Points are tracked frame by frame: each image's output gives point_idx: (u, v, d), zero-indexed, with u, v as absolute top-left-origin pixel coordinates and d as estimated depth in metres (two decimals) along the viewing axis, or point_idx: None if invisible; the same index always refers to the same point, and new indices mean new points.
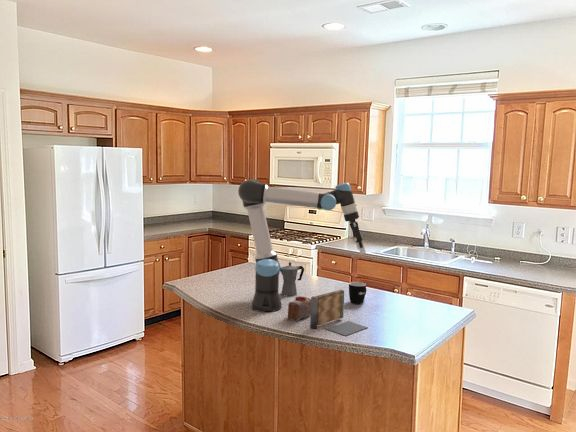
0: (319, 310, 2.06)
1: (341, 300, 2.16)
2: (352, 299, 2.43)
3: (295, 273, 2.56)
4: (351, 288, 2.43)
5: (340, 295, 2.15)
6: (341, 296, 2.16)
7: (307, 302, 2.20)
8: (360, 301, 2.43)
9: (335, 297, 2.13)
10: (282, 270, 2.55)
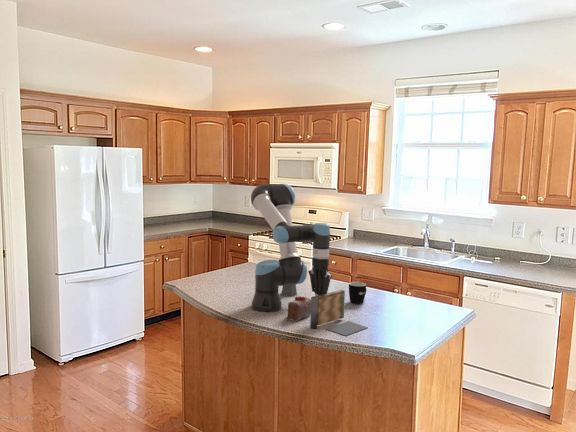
0: (319, 310, 2.06)
1: (341, 300, 2.16)
2: (352, 299, 2.43)
3: None
4: (351, 288, 2.43)
5: (340, 295, 2.15)
6: (341, 296, 2.16)
7: (307, 302, 2.20)
8: (360, 301, 2.43)
9: (335, 297, 2.13)
10: None
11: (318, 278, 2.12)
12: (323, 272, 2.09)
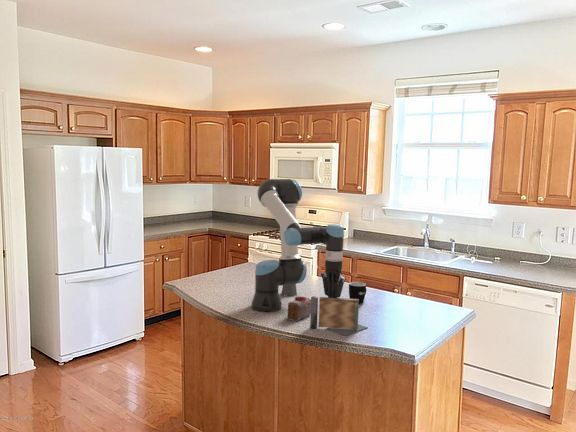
0: (320, 312, 2.04)
1: (354, 310, 2.02)
2: None
3: None
4: (351, 288, 2.43)
5: (353, 304, 2.02)
6: (354, 305, 2.02)
7: (307, 302, 2.20)
8: (360, 301, 2.43)
9: (344, 304, 2.02)
10: None
11: (331, 281, 2.06)
12: (336, 275, 2.03)
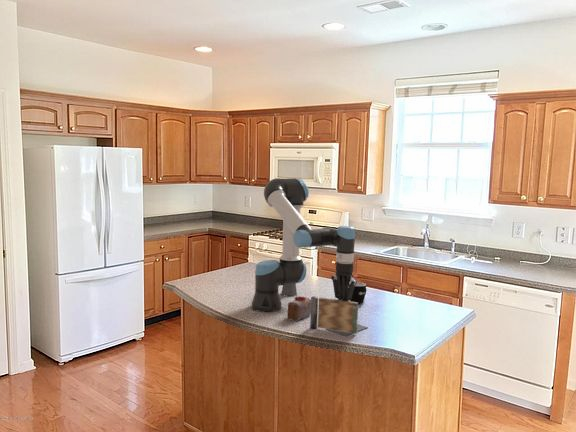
0: (319, 312, 2.03)
1: (352, 313, 1.97)
2: (352, 299, 2.43)
3: None
4: None
5: (351, 307, 1.97)
6: (353, 309, 1.97)
7: (307, 302, 2.20)
8: (360, 301, 2.43)
9: (342, 306, 1.99)
10: None
11: None
12: (347, 278, 1.99)
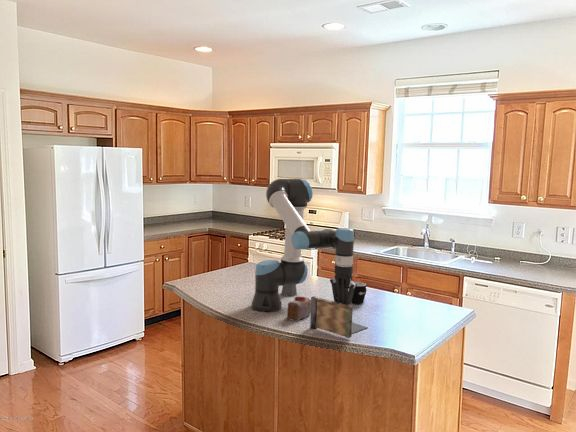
0: (318, 313, 2.02)
1: (346, 317, 1.92)
2: (352, 299, 2.43)
3: None
4: None
5: (345, 310, 1.93)
6: (346, 312, 1.92)
7: (306, 302, 2.20)
8: (360, 301, 2.43)
9: (337, 308, 1.95)
10: None
11: (341, 287, 1.97)
12: (347, 281, 1.93)
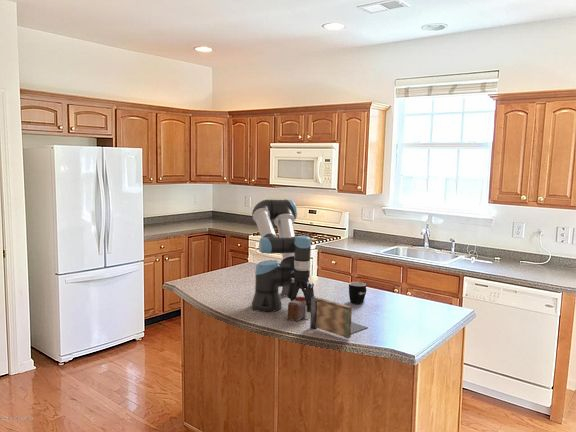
0: (317, 313, 2.02)
1: (345, 317, 1.92)
2: (352, 299, 2.43)
3: None
4: (351, 288, 2.43)
5: (344, 311, 1.92)
6: (345, 312, 1.92)
7: None
8: (360, 301, 2.43)
9: (337, 309, 1.95)
10: None
11: (297, 288, 2.21)
12: (304, 283, 2.16)
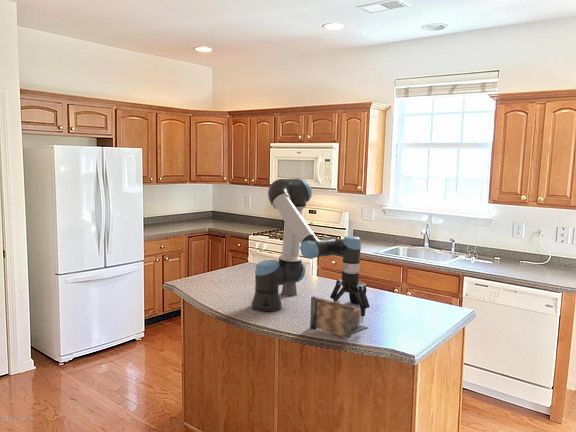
0: (317, 313, 2.02)
1: (345, 317, 1.92)
2: (352, 299, 2.43)
3: None
4: None
5: (344, 311, 1.92)
6: (345, 312, 1.92)
7: (355, 312, 2.05)
8: None
9: (337, 309, 1.95)
10: None
11: (343, 291, 2.07)
12: (354, 287, 2.02)
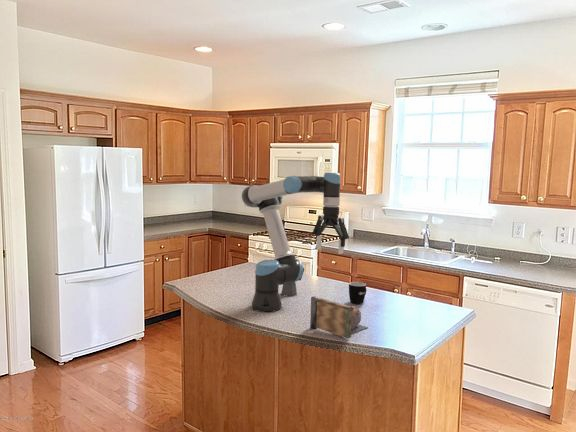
0: (317, 313, 2.02)
1: (345, 317, 1.92)
2: (352, 299, 2.43)
3: None
4: (351, 288, 2.43)
5: (344, 311, 1.92)
6: (345, 312, 1.92)
7: (355, 312, 2.05)
8: (360, 301, 2.43)
9: (337, 309, 1.95)
10: None
11: (325, 225, 2.18)
12: (334, 220, 2.13)
